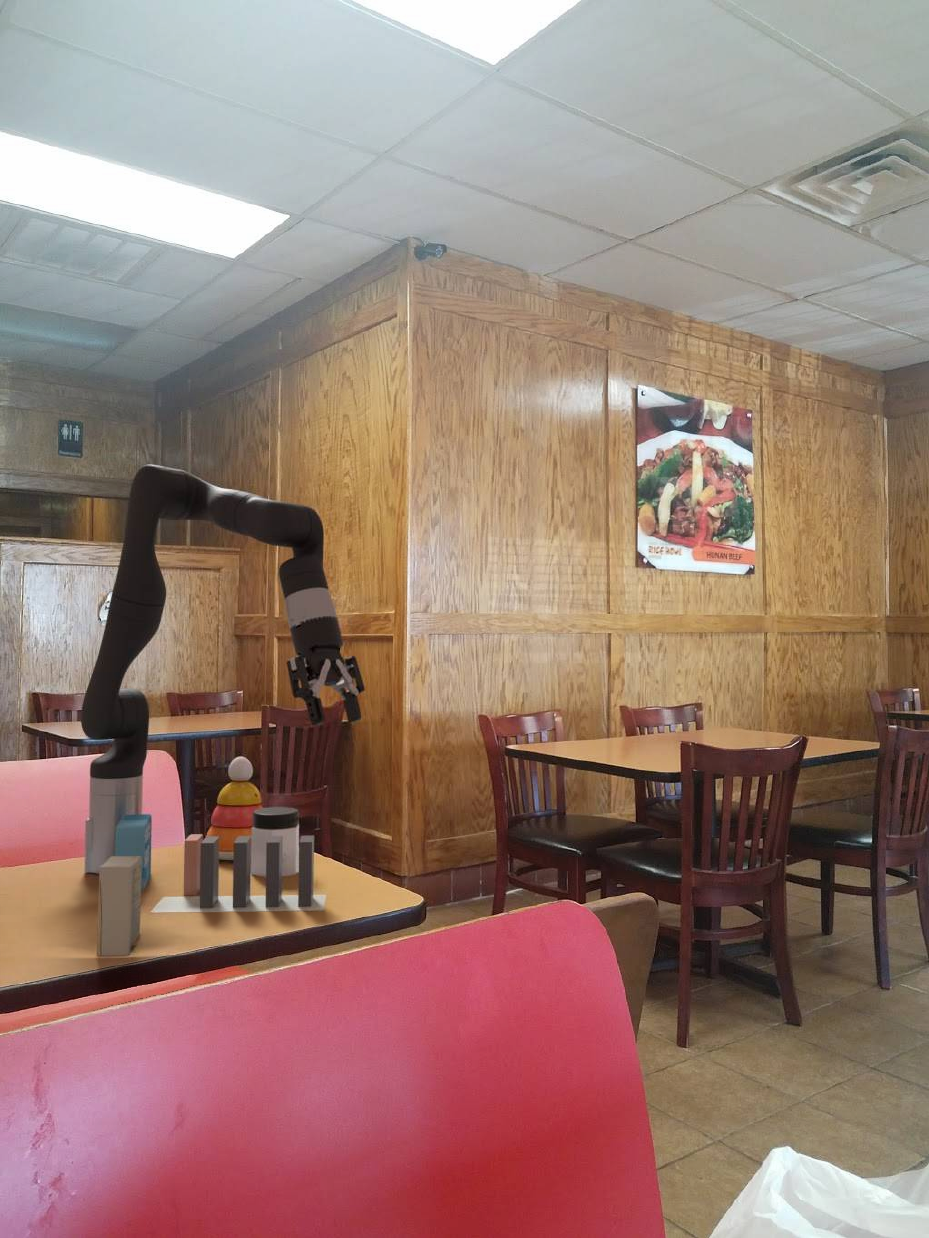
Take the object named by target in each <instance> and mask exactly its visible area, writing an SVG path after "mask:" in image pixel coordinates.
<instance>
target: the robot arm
mask: <svg viewBox="0 0 929 1238" xmlns="http://www.w3.org/2000/svg"><path fill="white" fill-rule="evenodd" d="M130 487H131V488H130V491H129V496H128V504H127V512H126V518H125V519H126V521H125V528H124V536H123V543H122V548H121V553H120V559H119V563H118V567H117V572H116V577H115V580H114V581H115V582H114V586H113V588H112V592H111V597H110V601H109V605H108V610H107V615H106V621H105V626H104V631H103V634H102V640H101V642H100V643H101V644H100V647H99V650H98V655H97V658H96V661H95V664H94V667H93V670H92V673H91V676H90V679H89V682H88V685H87V687H86V691H85V694H84V697H83V700H82V704H81V705H82V706H81V711H80V723H81V729H82V732H83V733H84V735H85V736H86V737H87V738H88V739H90V740H94V741H95V740H96V741H105V740H113V743H112V746H111V747H110V748H109V749H108V750H107V751H106V752H105V753H103V754H102V755H100V756H98V757H96V758H94V759H93V760H92V761H91V763H90V765H89V766H90V767H89V807H88V808H89V813H88V814H89V815H88V818H87V819H85V832H84V837H85V838H84V873H91V874H96V875H97V874H98V875H99V870H100V866H101V865H102V864H103V863H104V862H105V861H106V860H108V859H109V858H110V857H111V856H115V846H116V827H117V825H118V823H119V822H120V821H121V819H122V818H123V817H124V815H137V814H143V788H144V787H143V784H144V783H143V781H144V780H143V779H144V776H143V774H144V765H145V763H146V760H147V759H146V758H147V755H148V741H149V739H148V738H149V726H150V709H149V707H150V706H149V704H148V703H149V702H148V700H147V697H146V695H145V694H144V693H143V692H142V691H141V690H140V689H138V688H132V687H131V688H129V687H128V688H121V686H122V684H123V680H124V678H125V675H126V672H127V671H128V670H129V668H130V666H131V664H133V662H134V661H135V659H136V658H138V656H139V655H140V653H142V651H143V650H144V649H145V648H146V647H147V645H148V644H149V643H150V642H151V641H152V640H153V638H154V637H155V635H156V634H157V632H158V630H159V627H160V625H161V622H162V618H163V617H162V616H163V614H164V613H163V612H164V608H165V604H166V600H167V599H166V598H167V587H166V582H165V579H164V576H163V575H164V574H163V573H162V570H161V567H160V564H159V561H158V558H157V555H156V547H155V546H156V545H155V543H156V536H157V535H156V534H157V529H158V524H159V521H160V520H167V521H175V522H177V521H207V522H211V523H212V524H215V525H216V526H218V527H219V528H220V529H223V530H225V531H228V532H231V533H235V534H238V535H241V536H246V537H249V538H253V539H254V540H256V541H258V542H261V543H263V544H267V545H270V546H274V547H284V548H291V550H292V554H293V555H292V558H289V559H287V560H285V561H284V562H282V563H281V565H280V566H279V568H278V575H279V576H278V577H279V582H280V584H281V589H282V594H283V597H284V598H283V599H284V602H285V603H284V604H285V613H286V614H285V615H286V618H287V619H286V620H287V622H288V627H289V631H290V635H291V636H290V637H291V639H292V644H293V648H294V651H295V656H294V657H292V658H290V659H287V661H286V666H287V672H288V676H289V677H288V678H289V682H290V683H289V684H290V688H291V692H292V693H291V694H292V696H293V698H295V699H298V698H300V699H302V701H303V702H304V703H305V706H306V710H307V714H308V718H309V721H310V722H311V724H312V726H319V725H322V724H325V722H326V720H327V719H326V715H325V710H324V707H323V703H322V699H321V697H319V696H320V693H321V688H322V687H323V686H325V687H331V688H332V689H333V690H334V692H335V691H336V692H337V693H338V694H339V695H340V696H341V698H342V699H343V700H342V703H343V707H344V710H345V714H346V719H347V722H348V723H351V724H352V723H355V722H358V721H360V720H362V711H361V708H360V703H359V699H358V695H359V694H361V693H362V692H365V689H366V687H365V684H364V681H363V678H362V674H361V670H360V667H359V664H358V661H357V658H356V656H355V655H352V656H349V657H347V658H343V655H342V654H341V648H342V647H343V645H344V639H343V636H342V632H341V627H340V623H339V619H338V616H337V612H336V611H337V610H336V607H335V604H334V601H333V598H332V596H331V593H330V590H329V586H328V581H327V577H326V573H325V570H324V546H325V545H324V539H325V533H324V531H325V530H324V526H323V522H322V519H321V517H320V515H319V513H317V511H316V510H315V509H314V508H312V507H310V506H308V505H304V504H296V503H291V502H286V501H280V500H274V499H273V500H272V499H269V498H266V497H264V496H261V495H258V494H255V493H251V492H247V491H242V490H238V489H231V488H223V487H218V486H217V485H213V484H212V483H209V482H207V481H205V480H203V479H202V478H200V477H198V476H196V475H194V474H192V473H190V472H188V471H186V470H183V469H179V468H172V467H167V466H162V465H156V464H145V465H143V466H140V468H139V469H138V470H137V471H136V473H135V475H134V476H133V480H132V483H131V486H130ZM354 680H355V684H356V686H355V684H354V682H353V681H354ZM299 682H300V685H299ZM345 688H346V689H345Z"/></svg>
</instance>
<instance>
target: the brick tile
mask: <svg viewBox="0 0 929 1238" xmlns="http://www.w3.org/2000/svg"><path fill="white" fill-rule="evenodd" d="M203 835H204V834H202V833H199V834H197V833H196V834H193V833H191V834H190V835H188V836H187V837H186V839H184V851H183V853H184V854H183V855H184V856H183V857H184V858H183V896H198V893H200V858H201V842H202V841H203V840H204V838H203V837H204V836H203Z"/></svg>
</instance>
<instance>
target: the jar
mask: <svg viewBox="0 0 929 1238" xmlns="http://www.w3.org/2000/svg"><path fill="white" fill-rule="evenodd" d="M299 820H300V812H299V809H296V808H295V807H294V808H293V807H287V806H286V807H285V806H271V807H269V806H268V807H263V808H261V809H257V810H254V811H253V827H252V841H251V873H250V876H251V875H252V876H257V877H258V876H259V877H263V878H266V842H267V841H268V839H269V837H270V836H283V849H282V877H285V876H286V877H287V876H294V875H297V873H298V874H299V841H300V830H299V829H300V823H299Z"/></svg>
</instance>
